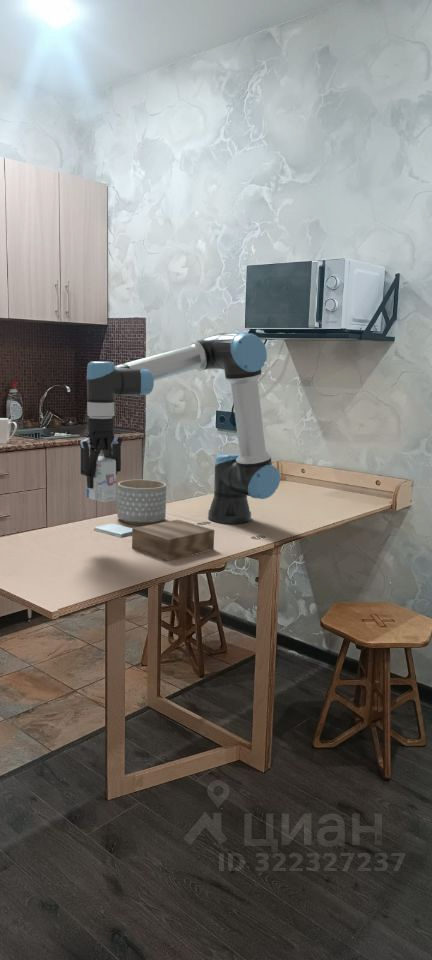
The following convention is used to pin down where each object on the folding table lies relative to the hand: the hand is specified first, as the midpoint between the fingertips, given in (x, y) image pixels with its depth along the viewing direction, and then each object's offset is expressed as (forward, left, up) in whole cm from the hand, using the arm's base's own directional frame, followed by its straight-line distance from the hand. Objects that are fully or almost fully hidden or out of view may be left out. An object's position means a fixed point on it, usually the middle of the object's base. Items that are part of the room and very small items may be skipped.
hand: (101, 497), depth 201 cm
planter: (-32, -20, -15) cm, 41 cm away
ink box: (0, 0, -1) cm, 1 cm away
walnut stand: (-17, +13, -15) cm, 26 cm away
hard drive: (-16, -13, -16) cm, 26 cm away
